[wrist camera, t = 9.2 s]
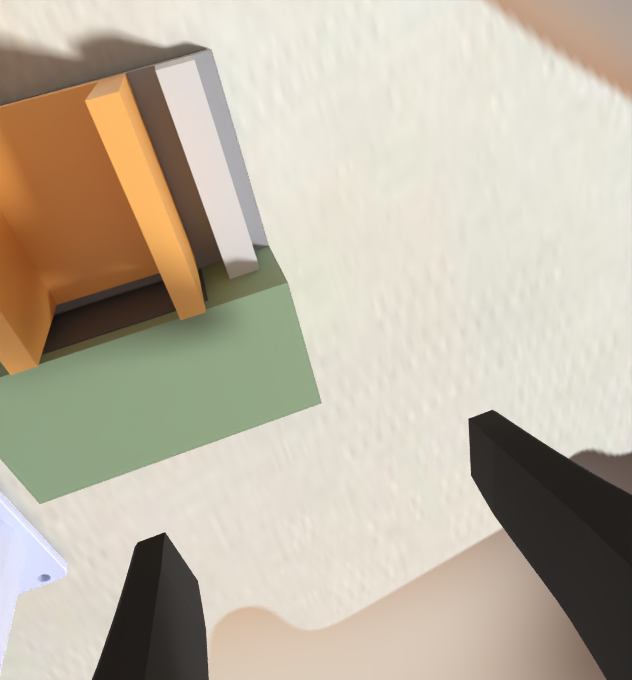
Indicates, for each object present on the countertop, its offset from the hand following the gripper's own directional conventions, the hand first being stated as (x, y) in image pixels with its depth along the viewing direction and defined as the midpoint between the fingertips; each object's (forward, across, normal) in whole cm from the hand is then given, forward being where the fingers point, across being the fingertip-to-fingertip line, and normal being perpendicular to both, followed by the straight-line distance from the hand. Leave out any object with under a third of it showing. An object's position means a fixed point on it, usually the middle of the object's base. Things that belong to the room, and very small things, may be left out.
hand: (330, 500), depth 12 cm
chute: (+9, +4, -6) cm, 11 cm away
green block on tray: (+9, +4, -2) cm, 11 cm away
